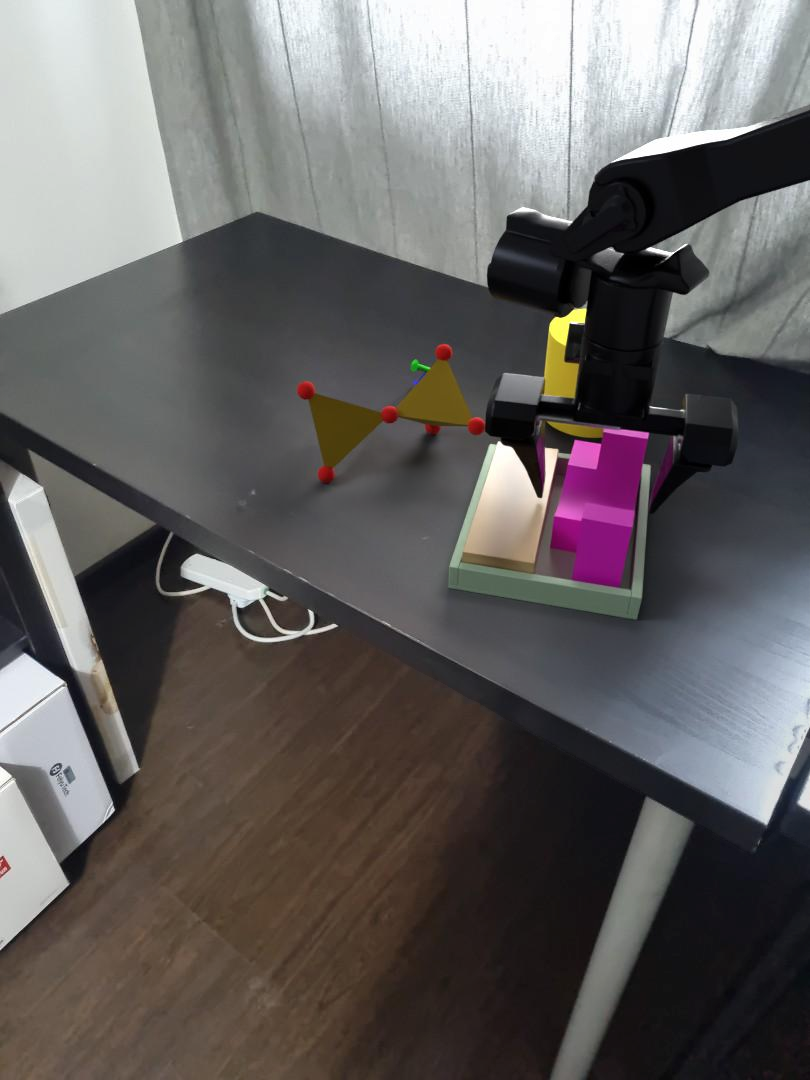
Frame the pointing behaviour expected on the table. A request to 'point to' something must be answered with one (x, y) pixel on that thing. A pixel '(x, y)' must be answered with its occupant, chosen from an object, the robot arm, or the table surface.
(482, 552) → the back pad
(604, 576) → the toy block
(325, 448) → the molecule model
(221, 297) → the table surface
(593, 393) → the robot arm
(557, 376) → the yellow hollow cylinder
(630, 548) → the frame
